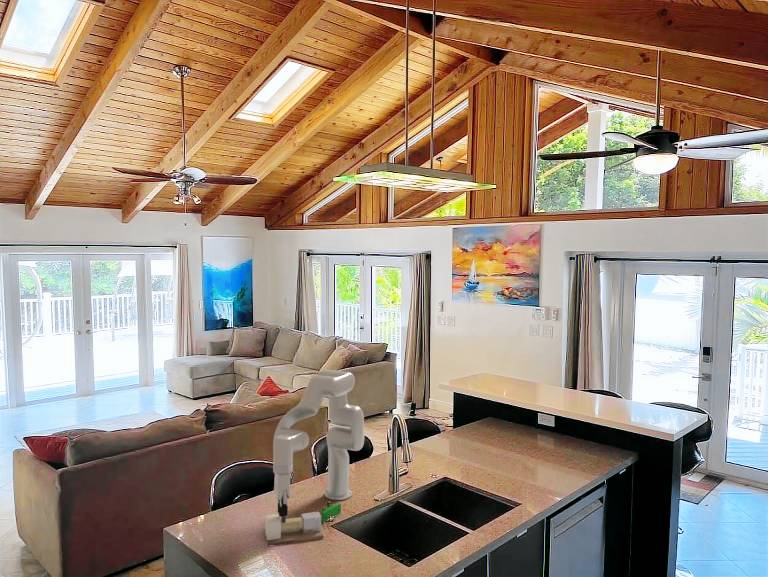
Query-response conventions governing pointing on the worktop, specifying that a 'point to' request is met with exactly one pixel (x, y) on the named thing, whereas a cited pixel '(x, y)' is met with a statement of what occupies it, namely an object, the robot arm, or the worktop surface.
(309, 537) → the base board
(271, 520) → the socket
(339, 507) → the pipe clamp
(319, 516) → the sleeve
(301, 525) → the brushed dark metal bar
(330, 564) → the worktop surface
